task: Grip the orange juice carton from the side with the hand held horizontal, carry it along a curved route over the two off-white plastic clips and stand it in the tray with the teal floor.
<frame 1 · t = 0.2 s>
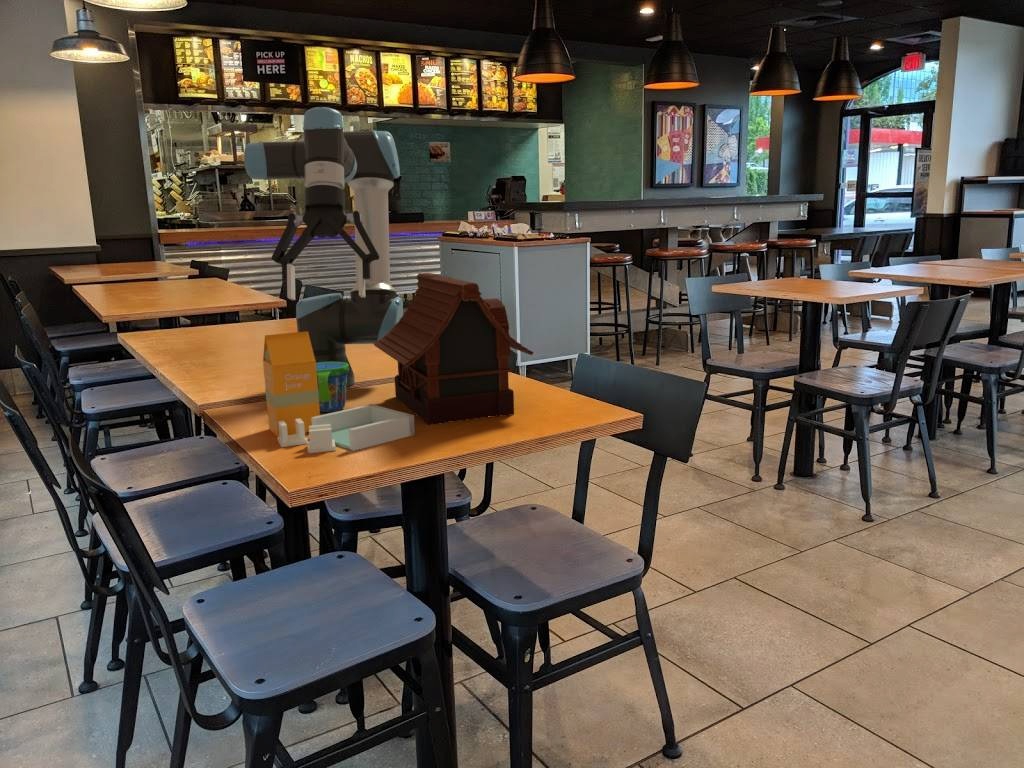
hand: (326, 297, 149), 27 cm above the table, tool tilted 15°, fingers open, 13 cm apart
clip 1: (292, 442, 150), on the table
snack cup: (328, 410, 176), on the table
house: (450, 405, 178), on the table
tray: (361, 436, 153), on the table
orange juice: (295, 430, 159), on the table
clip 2: (321, 448, 146), on the table
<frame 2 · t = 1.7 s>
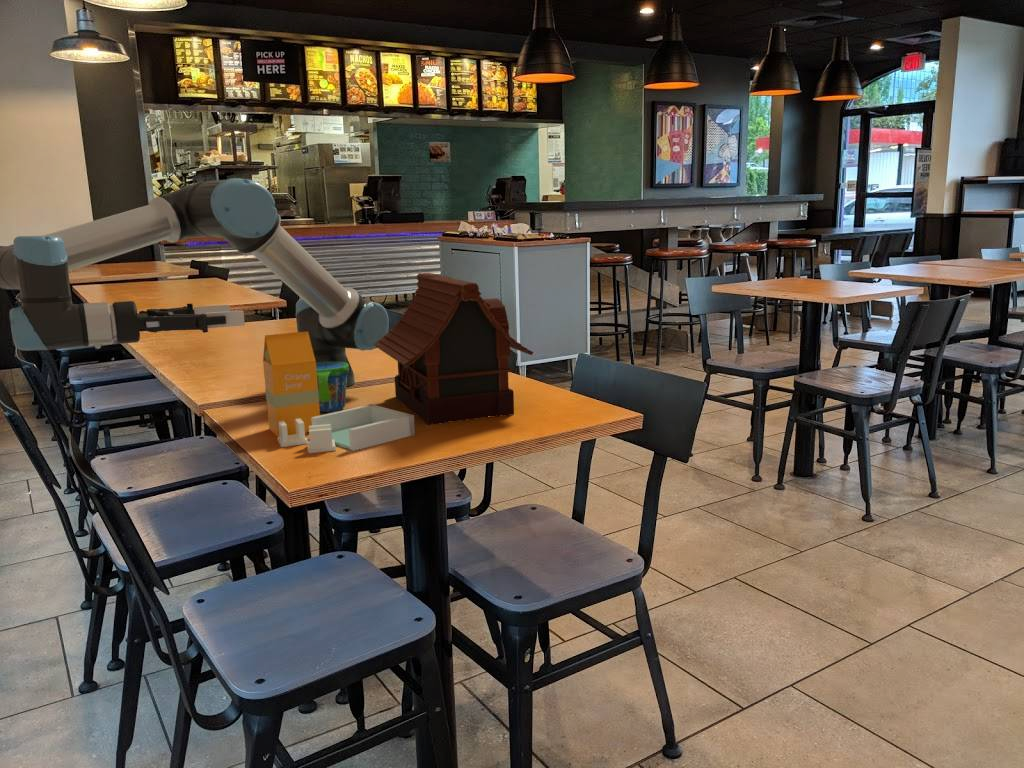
hand: (236, 314, 150), 24 cm above the table, tool horizontal, fingers open, 13 cm apart
nothing on the table moved.
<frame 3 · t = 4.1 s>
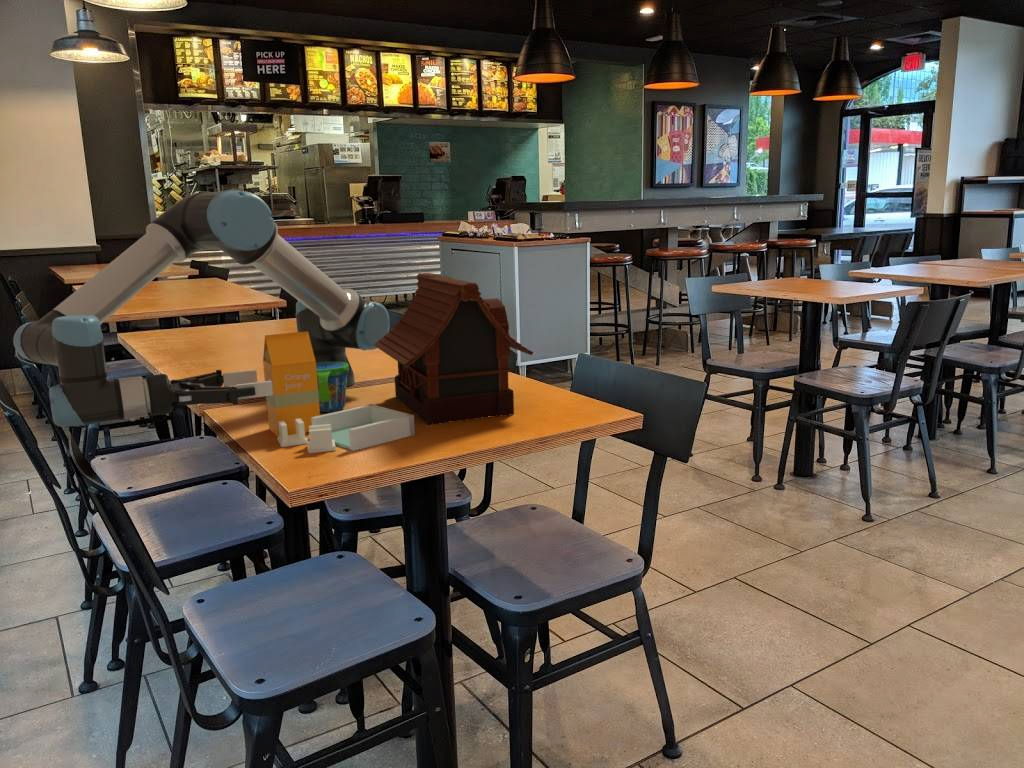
hand: (264, 381, 154), 11 cm above the table, tool horizontal, fingers open, 13 cm apart
nothing on the table moved.
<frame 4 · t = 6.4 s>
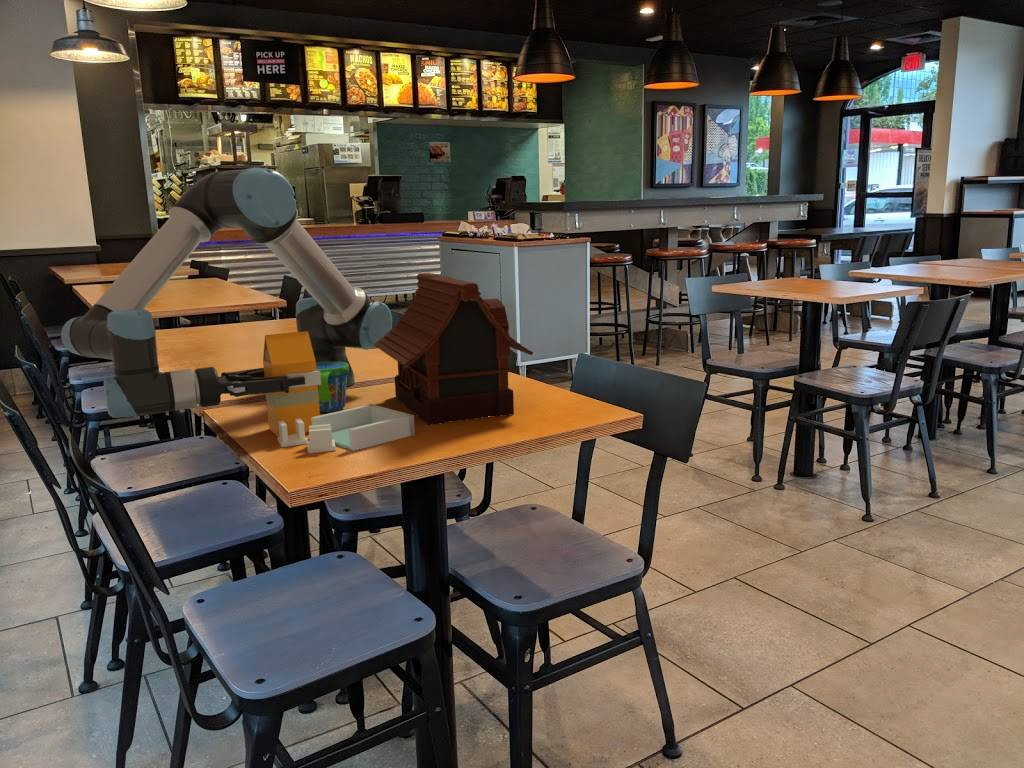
hand: (313, 374, 159), 11 cm above the table, tool horizontal, fingers closed on orange juice, 8 cm apart
orange juice: (295, 430, 159), on the table, touching gripper
everything else where it was.
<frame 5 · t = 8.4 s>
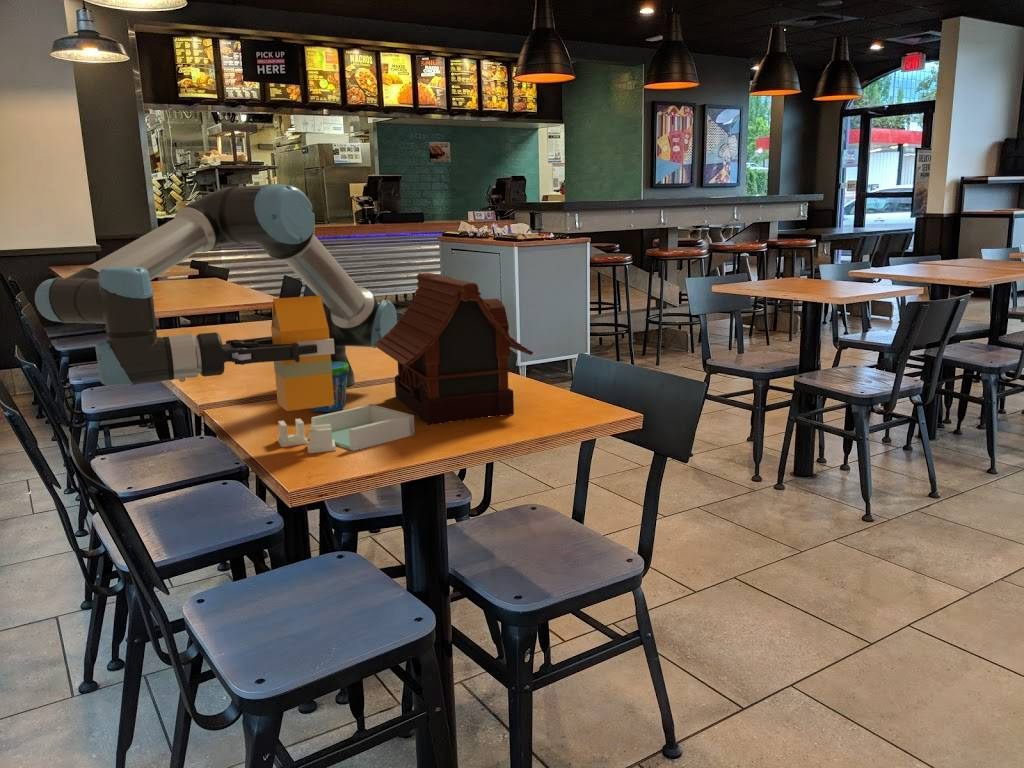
hand: (327, 343, 145), 19 cm above the table, tool horizontal, fingers closed on orange juice, 8 cm apart
orange juice: (305, 405, 145), point 8 cm above the table, touching gripper
everything else where it was.
when the fingers open (13 cm above the table, at t = 10.8 s): orange juice drops 1 cm, resting on tray.
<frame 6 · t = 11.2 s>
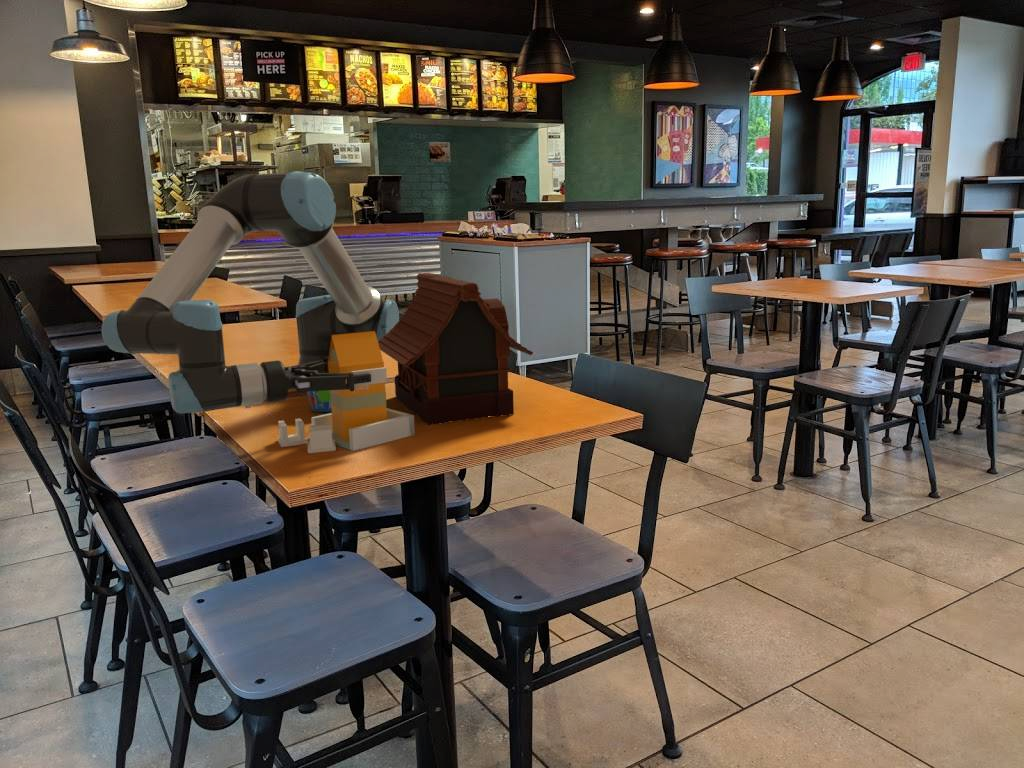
hand: (373, 369, 152), 13 cm above the table, tool horizontal, fingers open, 12 cm apart
orange juice: (360, 434, 153), resting on tray
everything else where it was.
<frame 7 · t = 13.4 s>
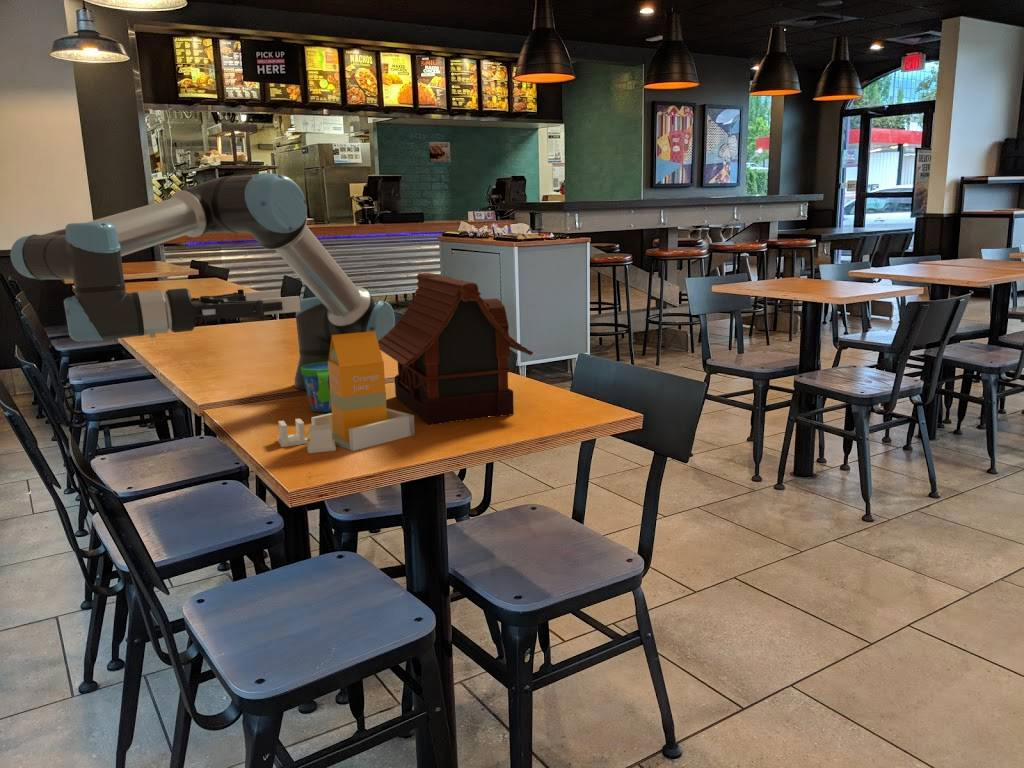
hand: (289, 300, 146), 27 cm above the table, tool horizontal, fingers open, 13 cm apart
nothing on the table moved.
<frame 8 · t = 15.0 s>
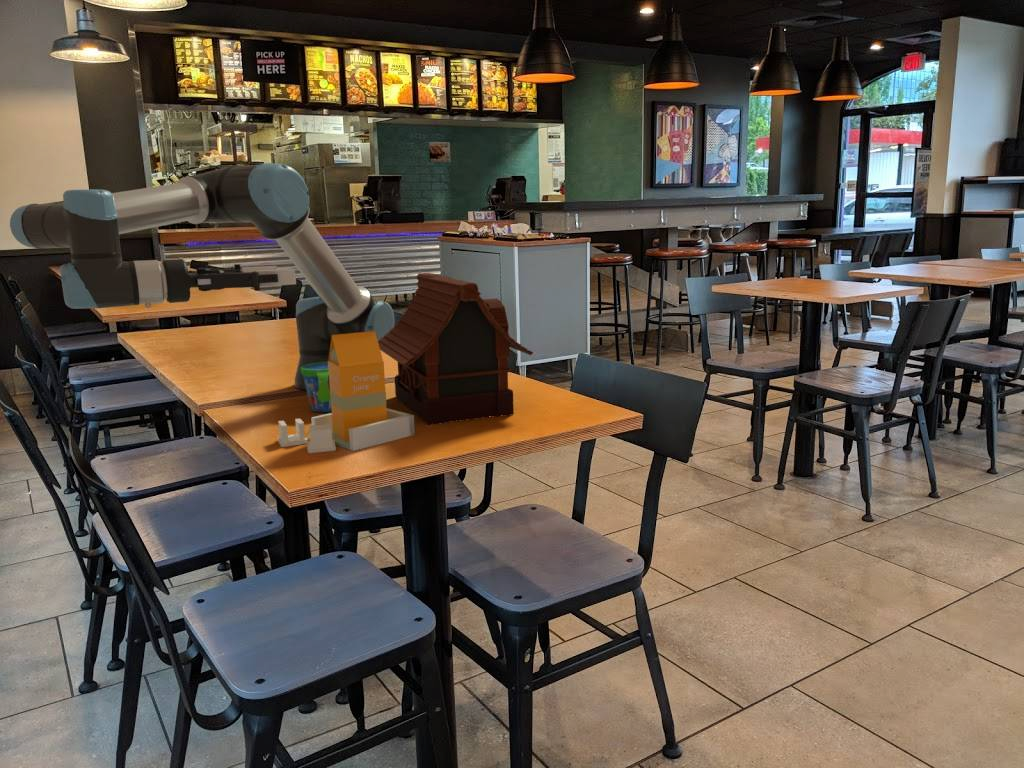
hand: (285, 274, 146), 32 cm above the table, tool horizontal, fingers open, 13 cm apart
nothing on the table moved.
at the end: orange juice inside the target area on the tray (0.1 cm from its centre), point 0.4 cm above the tray's base; orange juice tilted 0°; the gripper is holding nothing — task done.
